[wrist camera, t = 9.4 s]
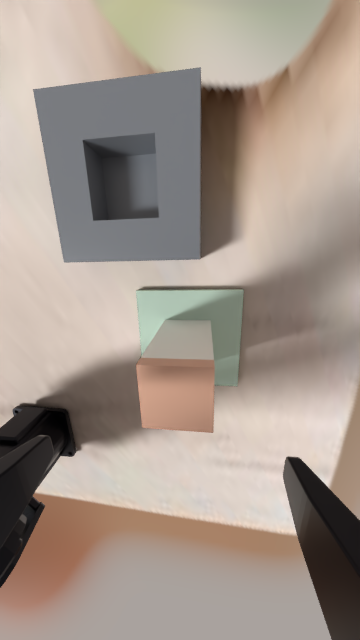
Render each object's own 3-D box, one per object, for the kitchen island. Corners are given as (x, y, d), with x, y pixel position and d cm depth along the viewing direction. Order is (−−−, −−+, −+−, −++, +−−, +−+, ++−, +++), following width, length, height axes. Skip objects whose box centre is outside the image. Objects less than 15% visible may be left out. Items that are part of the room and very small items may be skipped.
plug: (209, 362, 19) (213, 432, 11) (166, 360, 19) (142, 427, 12) (210, 320, 18) (214, 367, 10) (164, 319, 18) (136, 365, 11)
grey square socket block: (200, 258, 17) (199, 259, 14) (86, 261, 18) (64, 262, 15) (201, 105, 14) (200, 67, 11) (65, 120, 15) (33, 89, 12)
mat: (236, 382, 20) (237, 386, 19) (145, 378, 21) (143, 381, 20) (242, 289, 17) (243, 290, 17) (138, 289, 18) (136, 290, 18)
